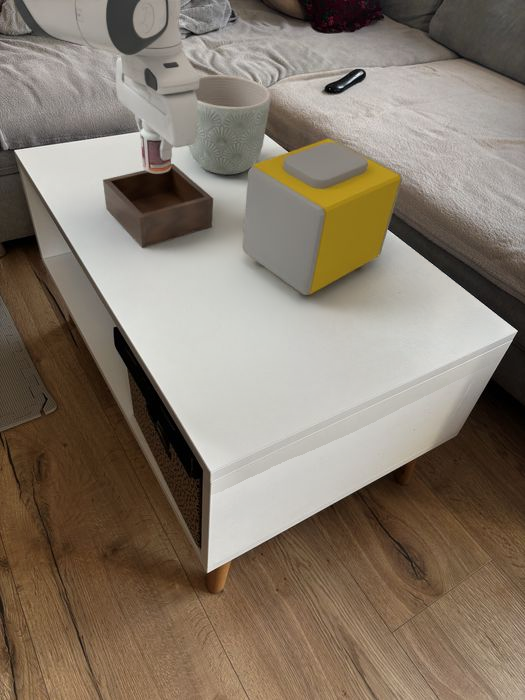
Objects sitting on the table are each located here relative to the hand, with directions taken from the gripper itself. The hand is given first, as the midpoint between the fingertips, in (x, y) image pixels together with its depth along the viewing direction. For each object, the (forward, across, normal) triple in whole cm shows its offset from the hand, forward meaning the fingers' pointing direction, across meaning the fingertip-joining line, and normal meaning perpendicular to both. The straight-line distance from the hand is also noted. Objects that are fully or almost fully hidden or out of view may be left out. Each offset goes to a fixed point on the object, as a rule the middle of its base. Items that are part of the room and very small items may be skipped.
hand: (156, 150), depth 90 cm
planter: (+13, -12, +22) cm, 28 cm away
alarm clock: (+13, +24, +16) cm, 32 cm away
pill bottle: (+3, 0, 0) cm, 3 cm away
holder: (+13, 0, 0) cm, 13 cm away
